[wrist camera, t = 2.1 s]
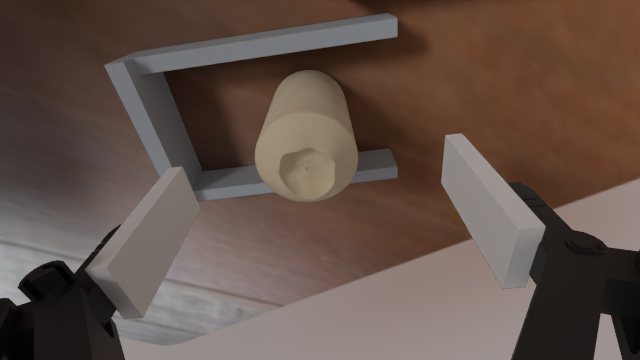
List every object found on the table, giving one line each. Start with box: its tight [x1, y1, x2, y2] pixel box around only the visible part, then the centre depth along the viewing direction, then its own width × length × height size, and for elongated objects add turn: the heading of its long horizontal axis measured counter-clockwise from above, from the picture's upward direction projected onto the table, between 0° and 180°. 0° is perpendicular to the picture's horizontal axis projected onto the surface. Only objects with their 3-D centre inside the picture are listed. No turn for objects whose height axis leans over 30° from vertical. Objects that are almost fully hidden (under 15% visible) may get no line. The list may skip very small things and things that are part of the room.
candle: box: [255, 70, 358, 202], centre depth 20 cm, size 6×6×10 cm
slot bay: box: [104, 13, 398, 201], centre depth 22 cm, size 17×11×4 cm, turn 98°
